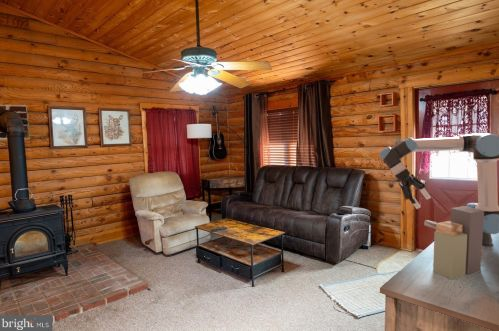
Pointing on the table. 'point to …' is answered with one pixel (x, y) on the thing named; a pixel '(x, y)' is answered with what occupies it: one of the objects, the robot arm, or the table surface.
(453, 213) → the tall stand
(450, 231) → the handle block
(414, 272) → the table surface
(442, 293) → the table surface
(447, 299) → the table surface
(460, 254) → the low stand
